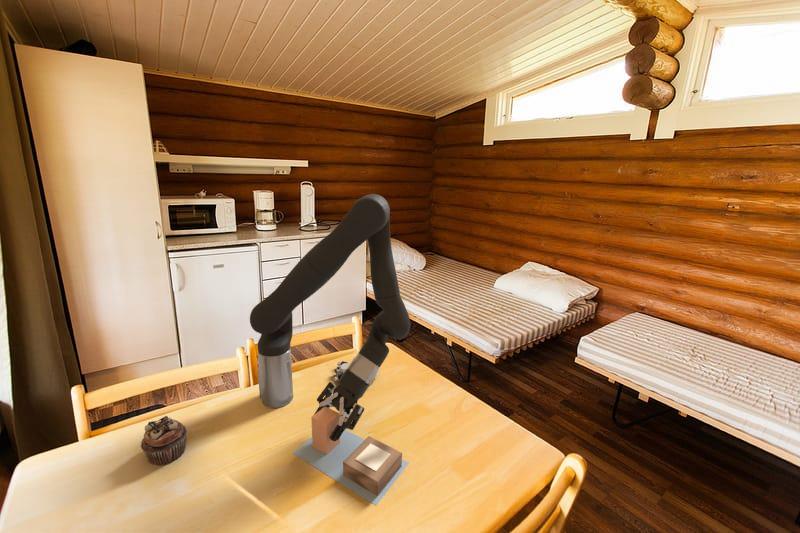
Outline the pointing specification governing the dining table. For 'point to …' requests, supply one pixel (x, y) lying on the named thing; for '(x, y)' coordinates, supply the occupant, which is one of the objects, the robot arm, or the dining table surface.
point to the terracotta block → (324, 429)
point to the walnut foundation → (372, 465)
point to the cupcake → (164, 441)
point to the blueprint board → (334, 464)
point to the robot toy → (342, 370)
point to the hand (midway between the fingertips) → (323, 430)
